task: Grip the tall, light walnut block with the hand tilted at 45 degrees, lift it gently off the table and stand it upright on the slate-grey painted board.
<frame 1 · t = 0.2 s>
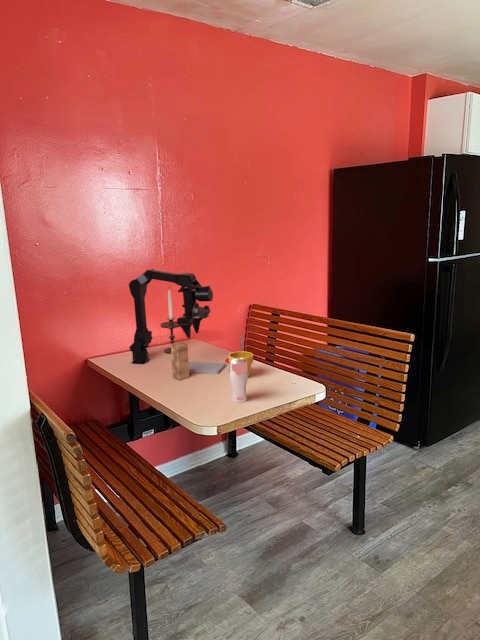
hand: (193, 335, 216), 14 cm above the table, tool pointing down, fingers open, 9 cm apart
beer glass: (239, 399, 178), on the table
plant pot: (241, 377, 203), on the table
candlestick: (172, 351, 245), on the table
walnut block: (181, 377, 204), on the table
tow hook: (235, 361, 226), on the table
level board: (202, 368, 215), on the table
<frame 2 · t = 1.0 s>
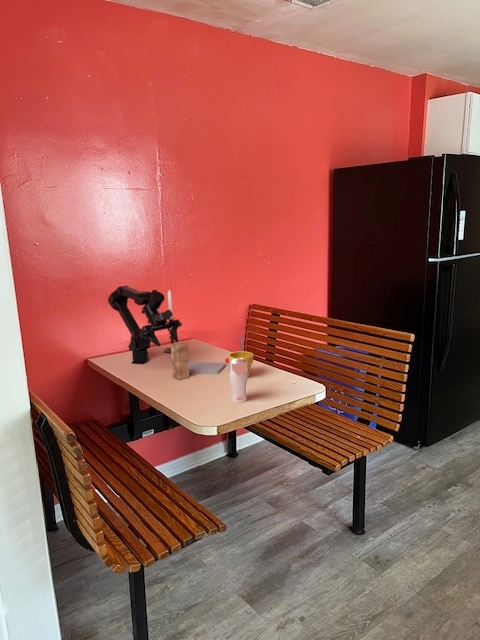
hand: (168, 344, 207), 13 cm above the table, tool tilted 45°, fingers open, 9 cm apart
nothing on the table moved.
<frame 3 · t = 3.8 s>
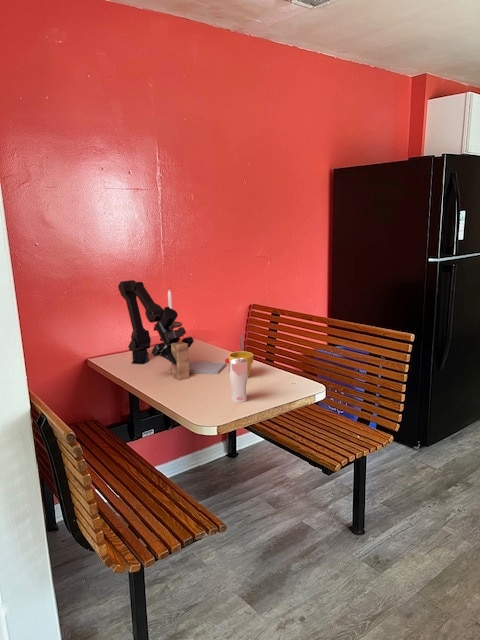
hand: (182, 362, 201), 7 cm above the table, tool tilted 45°, fingers open, 6 cm apart
walnut block: (181, 377, 204), on the table, touching gripper
everything else where it was.
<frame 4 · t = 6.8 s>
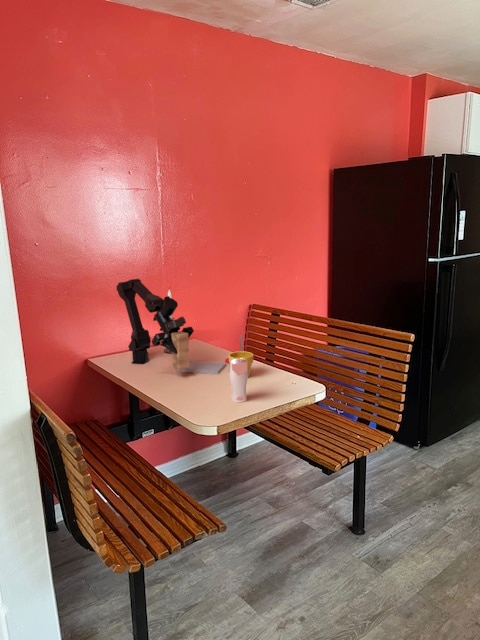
hand: (182, 352, 201), 12 cm above the table, tool tilted 45°, fingers closed on walnut block, 5 cm apart
walnut block: (180, 367, 203), point 4 cm above the table, touching gripper
everything else where it was.
when the fingers open (9 cm above the table, at t = 9.8 s): walnut block stays where it is, resting on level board.
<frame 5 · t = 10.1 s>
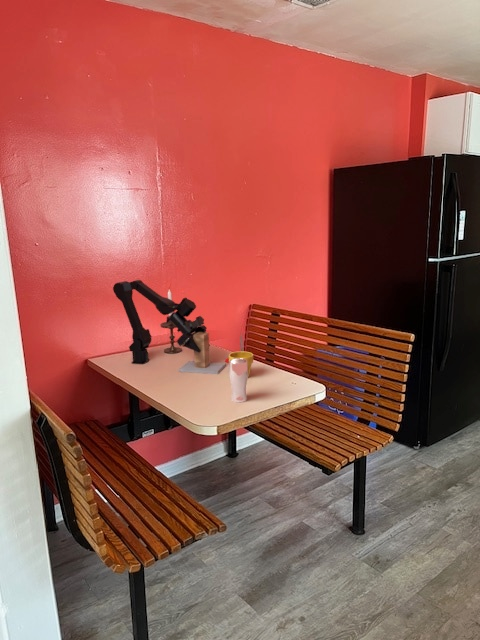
hand: (204, 349, 213), 9 cm above the table, tool tilted 45°, fingers open, 9 cm apart
walnut block: (202, 366, 215), point 1 cm above the table, touching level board
everything else where it was.
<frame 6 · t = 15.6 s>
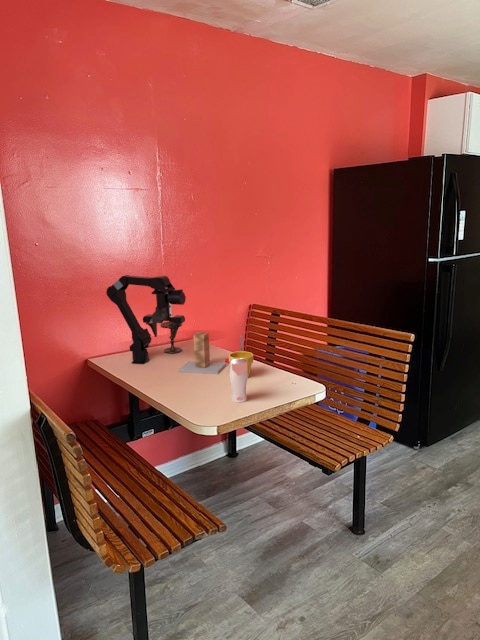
hand: (165, 337, 220), 13 cm above the table, tool pointing down, fingers open, 9 cm apart
nothing on the table moved.
at the end: walnut block inside the target area on the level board (0.1 cm from its centre), point 1.2 cm above the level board's base; walnut block tilted 0°; the gripper is holding nothing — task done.
